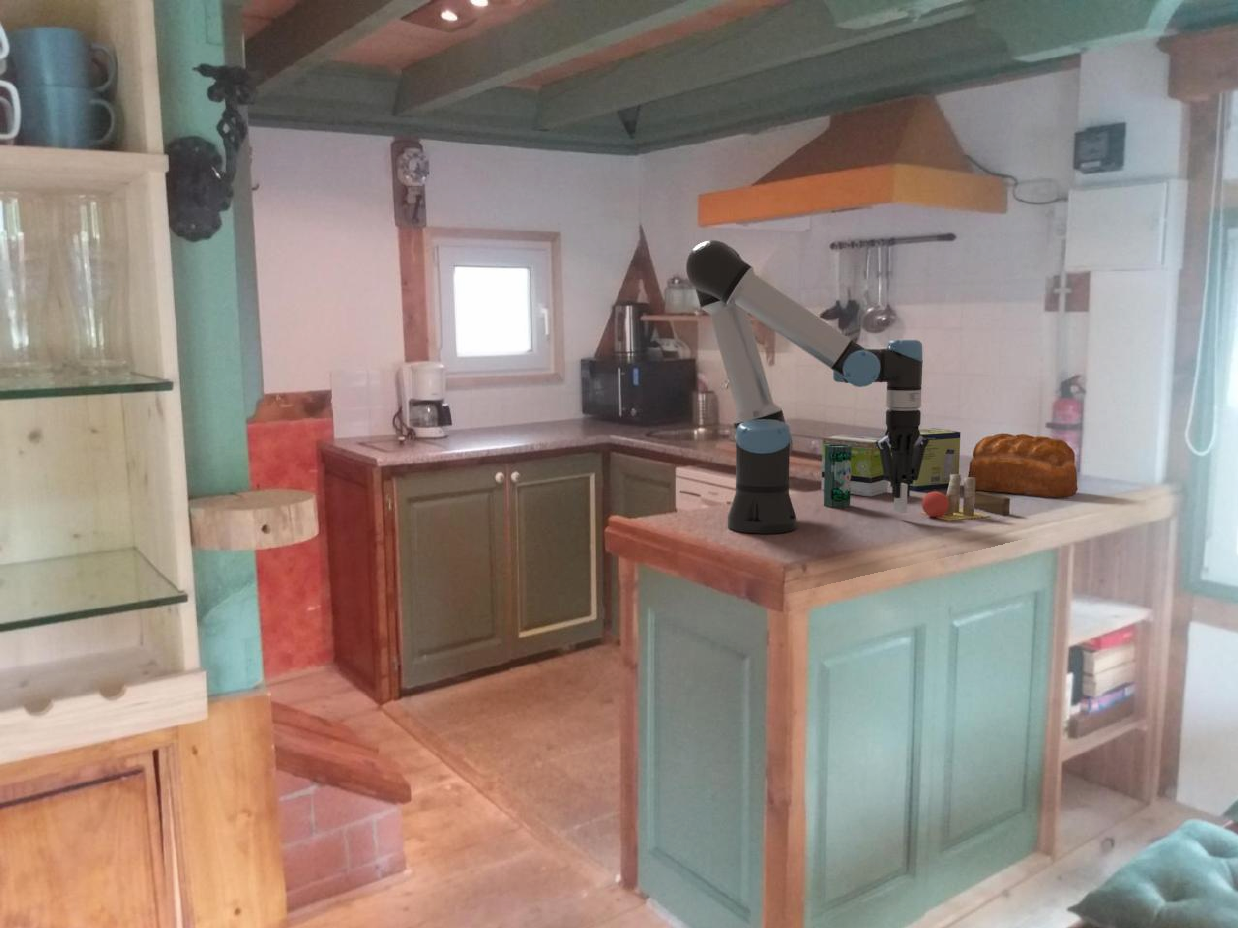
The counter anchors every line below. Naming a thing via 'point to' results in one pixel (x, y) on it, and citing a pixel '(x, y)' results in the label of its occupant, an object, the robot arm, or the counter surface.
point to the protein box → (938, 459)
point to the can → (837, 475)
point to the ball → (935, 504)
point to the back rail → (992, 503)
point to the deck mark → (959, 516)
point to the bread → (1024, 466)
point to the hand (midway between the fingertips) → (900, 511)
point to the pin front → (952, 493)
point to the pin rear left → (957, 496)
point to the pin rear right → (969, 496)
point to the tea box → (861, 464)
